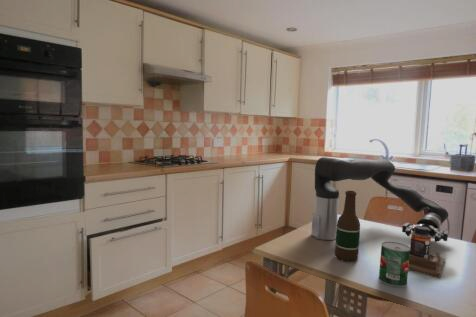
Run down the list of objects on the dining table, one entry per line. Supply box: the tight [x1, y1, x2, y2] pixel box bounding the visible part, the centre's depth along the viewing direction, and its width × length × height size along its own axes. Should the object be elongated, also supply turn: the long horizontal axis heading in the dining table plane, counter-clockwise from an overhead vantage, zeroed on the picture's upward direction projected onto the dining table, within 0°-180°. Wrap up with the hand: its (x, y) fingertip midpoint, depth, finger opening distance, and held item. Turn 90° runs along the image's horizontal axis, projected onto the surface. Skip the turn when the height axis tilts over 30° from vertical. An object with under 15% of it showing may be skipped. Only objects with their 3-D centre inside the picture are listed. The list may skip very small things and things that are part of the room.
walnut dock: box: [408, 251, 446, 279], centre depth 114 cm, size 16×14×4 cm
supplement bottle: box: [409, 226, 432, 259], centre depth 114 cm, size 6×6×11 cm
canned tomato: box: [378, 241, 410, 288], centre depth 100 cm, size 8×8×11 cm
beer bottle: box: [334, 190, 361, 263], centre depth 116 cm, size 8×8×24 cm
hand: (421, 236), depth 114 cm, fingers open, 8 cm apart
